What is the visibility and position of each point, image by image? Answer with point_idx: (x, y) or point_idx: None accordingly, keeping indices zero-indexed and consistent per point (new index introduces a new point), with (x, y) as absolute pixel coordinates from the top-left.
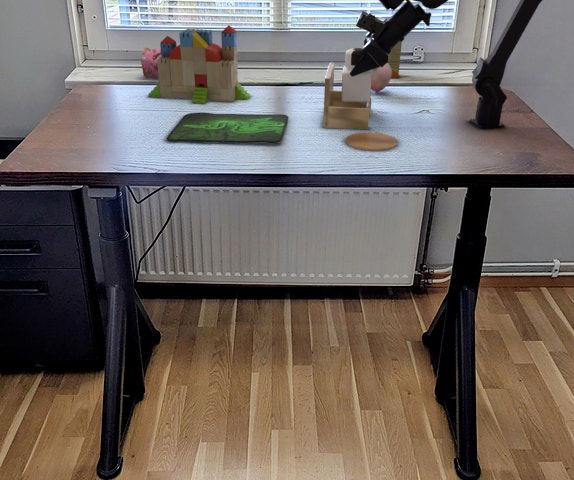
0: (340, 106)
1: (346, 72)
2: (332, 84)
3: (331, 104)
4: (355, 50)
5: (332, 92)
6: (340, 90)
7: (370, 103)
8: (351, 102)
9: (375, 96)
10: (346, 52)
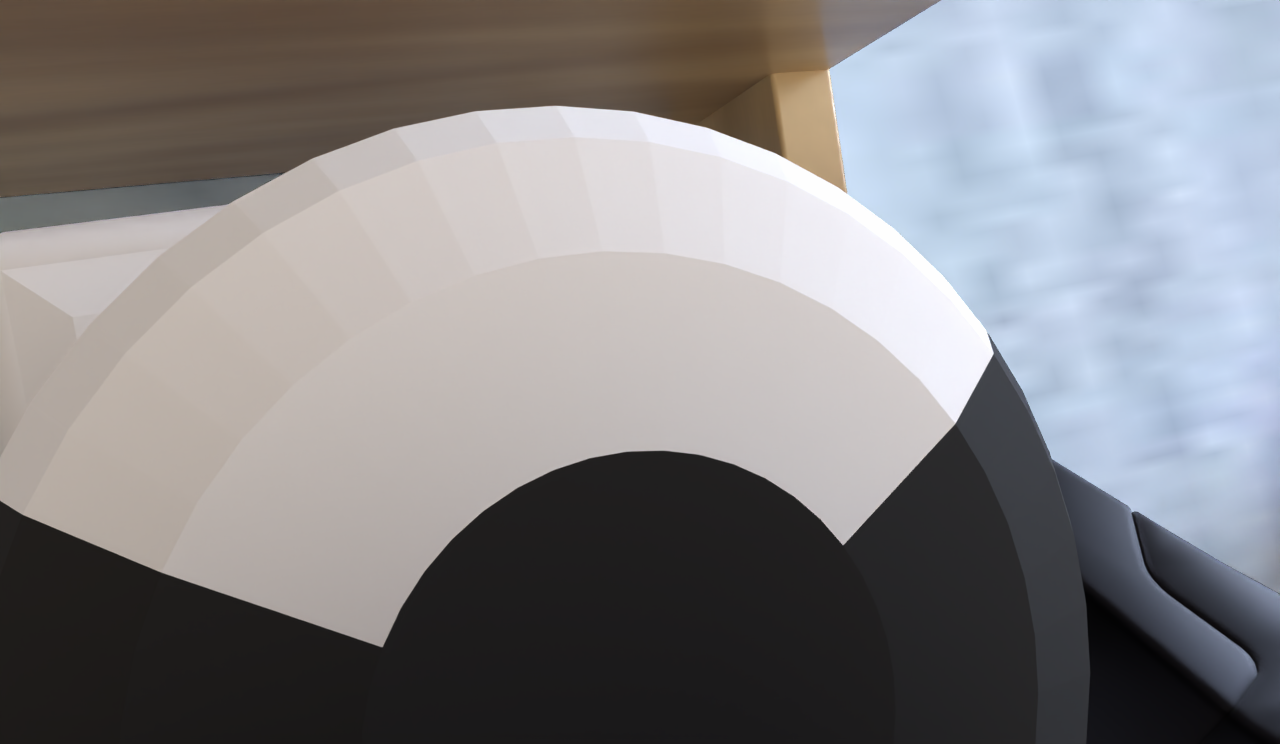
0: None
1: (16, 349)
2: (584, 34)
3: None
4: (309, 677)
5: (642, 78)
6: (831, 177)
7: None
8: None
9: (1275, 515)
10: (326, 168)
